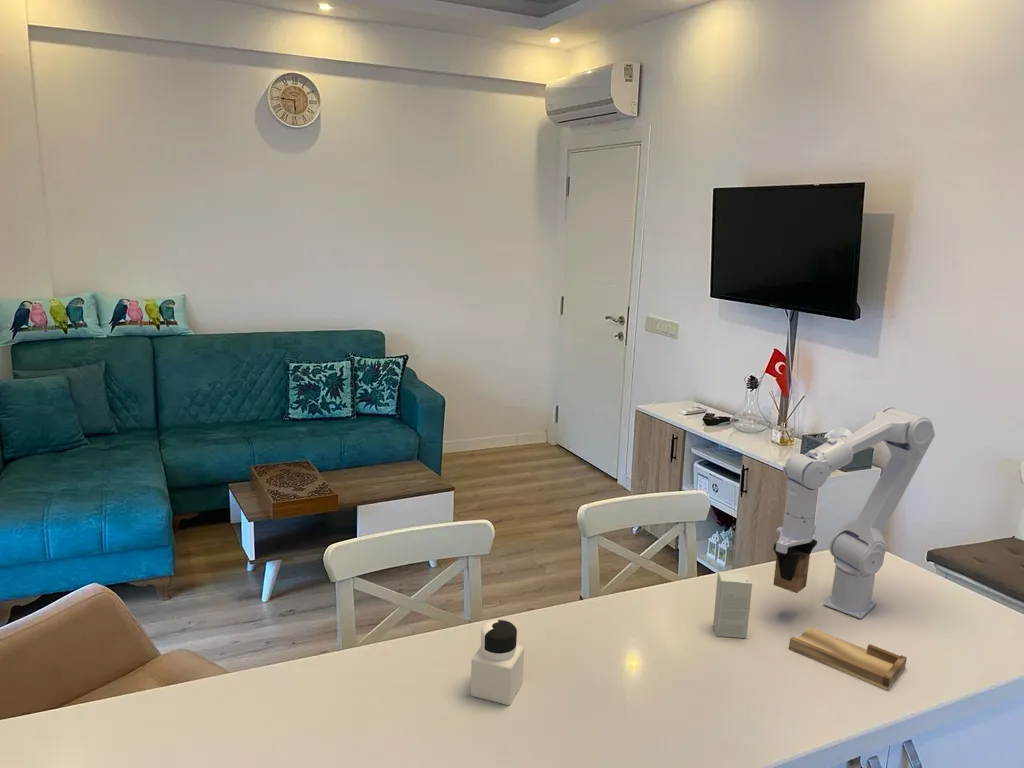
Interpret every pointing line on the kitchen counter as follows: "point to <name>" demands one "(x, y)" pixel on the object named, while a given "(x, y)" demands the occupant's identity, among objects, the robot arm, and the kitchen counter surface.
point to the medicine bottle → (497, 663)
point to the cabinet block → (799, 575)
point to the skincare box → (732, 604)
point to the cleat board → (850, 657)
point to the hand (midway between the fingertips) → (791, 575)
